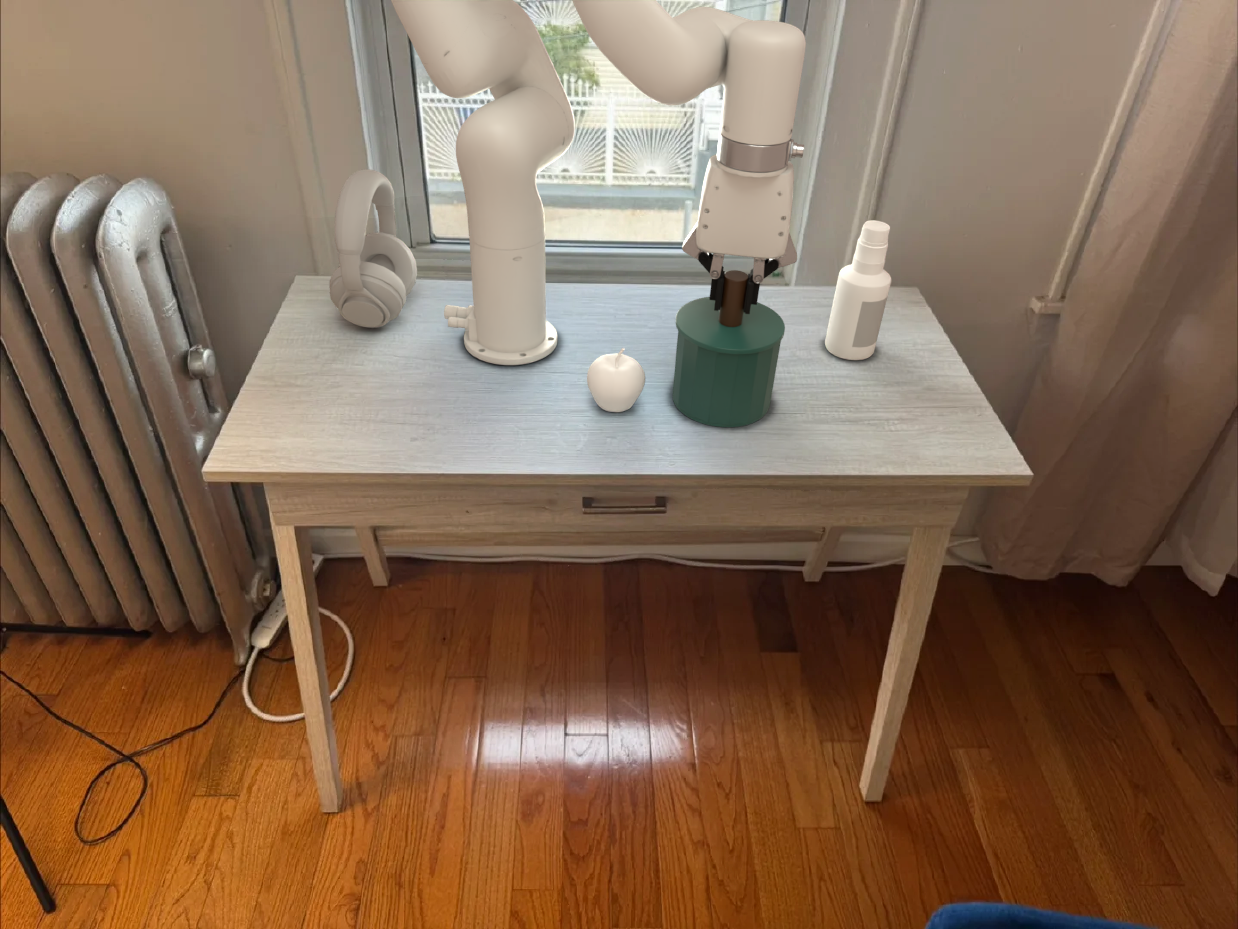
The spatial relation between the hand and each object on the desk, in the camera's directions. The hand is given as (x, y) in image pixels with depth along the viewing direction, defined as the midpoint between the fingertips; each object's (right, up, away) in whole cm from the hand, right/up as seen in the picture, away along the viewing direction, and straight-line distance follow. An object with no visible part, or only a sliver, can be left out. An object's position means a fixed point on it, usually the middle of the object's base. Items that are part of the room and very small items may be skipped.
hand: (732, 305), depth 108 cm
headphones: (-47, +3, +22) cm, 52 cm away
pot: (0, -10, +8) cm, 13 cm away
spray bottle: (+19, -3, +20) cm, 27 cm away
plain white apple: (-14, -11, +6) cm, 19 cm away
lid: (0, -2, +2) cm, 3 cm away
